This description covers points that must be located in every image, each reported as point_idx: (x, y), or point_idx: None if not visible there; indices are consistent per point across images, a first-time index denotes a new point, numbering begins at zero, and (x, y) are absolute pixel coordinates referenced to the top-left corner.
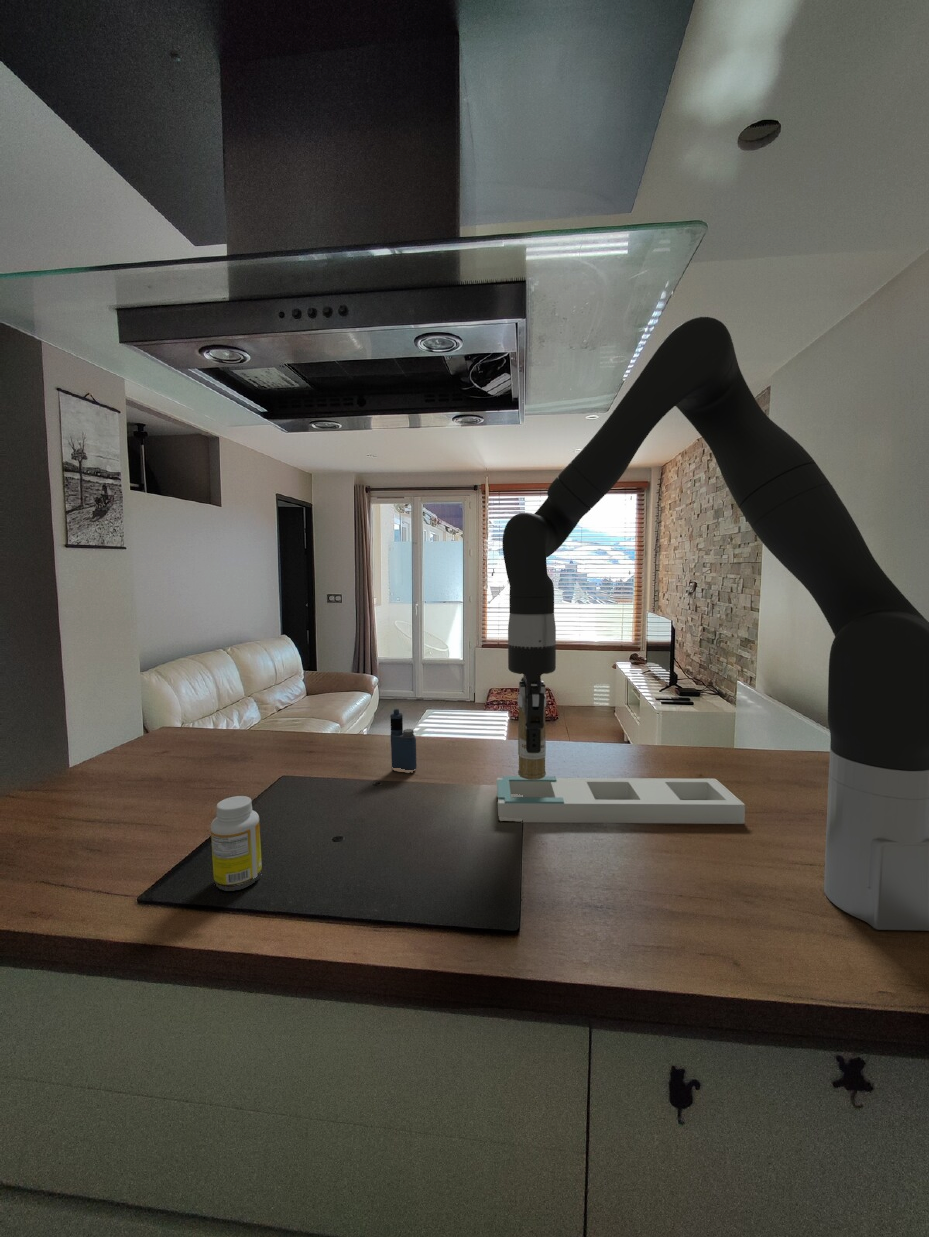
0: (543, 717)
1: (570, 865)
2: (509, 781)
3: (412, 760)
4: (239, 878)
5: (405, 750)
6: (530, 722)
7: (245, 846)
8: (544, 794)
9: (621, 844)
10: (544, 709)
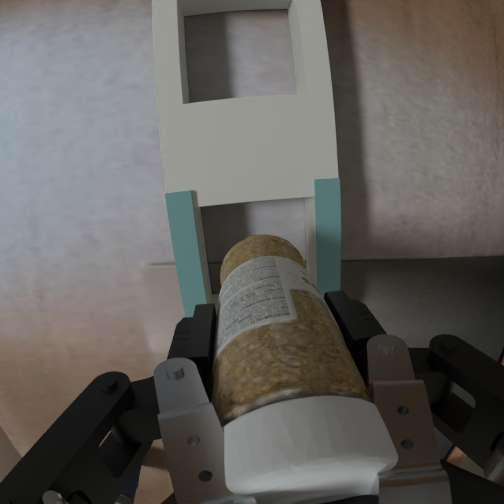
0: (337, 358)
1: (458, 183)
2: None
3: None
4: None
5: (136, 483)
6: (449, 397)
7: None
8: (199, 215)
9: (398, 77)
10: (424, 389)
